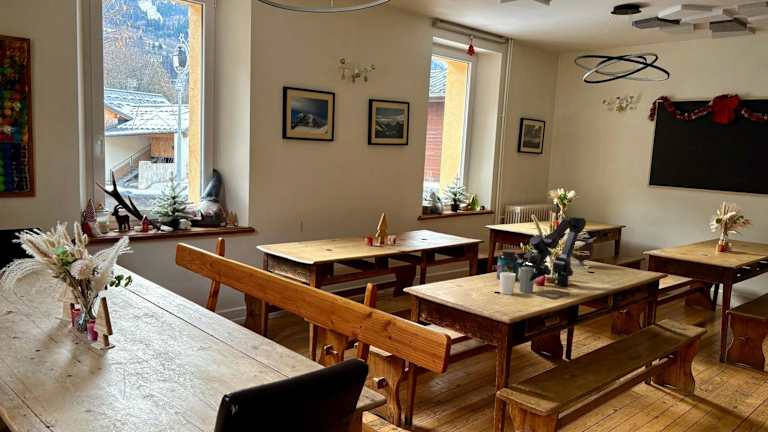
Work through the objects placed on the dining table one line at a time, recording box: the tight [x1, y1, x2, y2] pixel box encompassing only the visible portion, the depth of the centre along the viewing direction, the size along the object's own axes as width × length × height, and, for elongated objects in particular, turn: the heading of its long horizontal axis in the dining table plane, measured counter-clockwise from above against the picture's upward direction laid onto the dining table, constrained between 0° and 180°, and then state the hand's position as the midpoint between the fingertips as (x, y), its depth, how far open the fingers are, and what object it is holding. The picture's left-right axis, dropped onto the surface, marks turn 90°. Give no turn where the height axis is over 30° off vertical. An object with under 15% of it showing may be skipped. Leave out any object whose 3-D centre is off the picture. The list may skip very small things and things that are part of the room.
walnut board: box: [535, 288, 571, 300], centre depth 285 cm, size 16×10×1 cm, turn 132°
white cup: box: [499, 272, 516, 296], centre depth 285 cm, size 8×8×10 cm
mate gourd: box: [570, 237, 597, 268], centre depth 364 cm, size 16×14×20 cm
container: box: [496, 249, 520, 282], centre depth 318 cm, size 12×12×17 cm
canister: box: [519, 267, 535, 294], centre depth 289 cm, size 6×6×12 cm
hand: (524, 279), depth 288 cm, fingers closed on canister, 6 cm apart
